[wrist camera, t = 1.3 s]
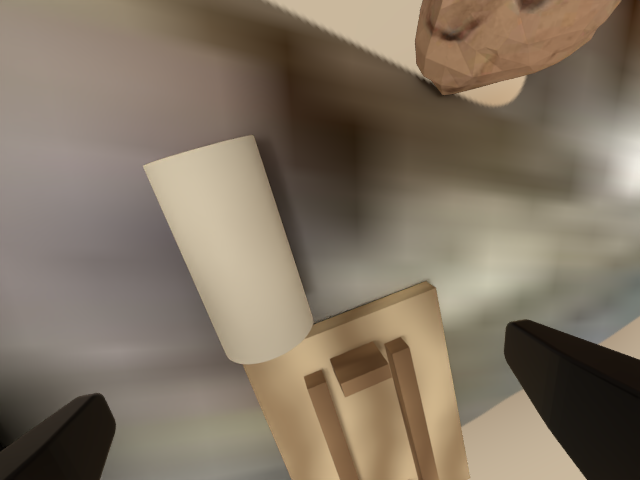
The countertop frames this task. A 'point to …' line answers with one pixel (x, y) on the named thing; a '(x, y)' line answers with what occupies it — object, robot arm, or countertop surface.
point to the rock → (500, 38)
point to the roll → (234, 247)
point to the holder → (367, 395)
